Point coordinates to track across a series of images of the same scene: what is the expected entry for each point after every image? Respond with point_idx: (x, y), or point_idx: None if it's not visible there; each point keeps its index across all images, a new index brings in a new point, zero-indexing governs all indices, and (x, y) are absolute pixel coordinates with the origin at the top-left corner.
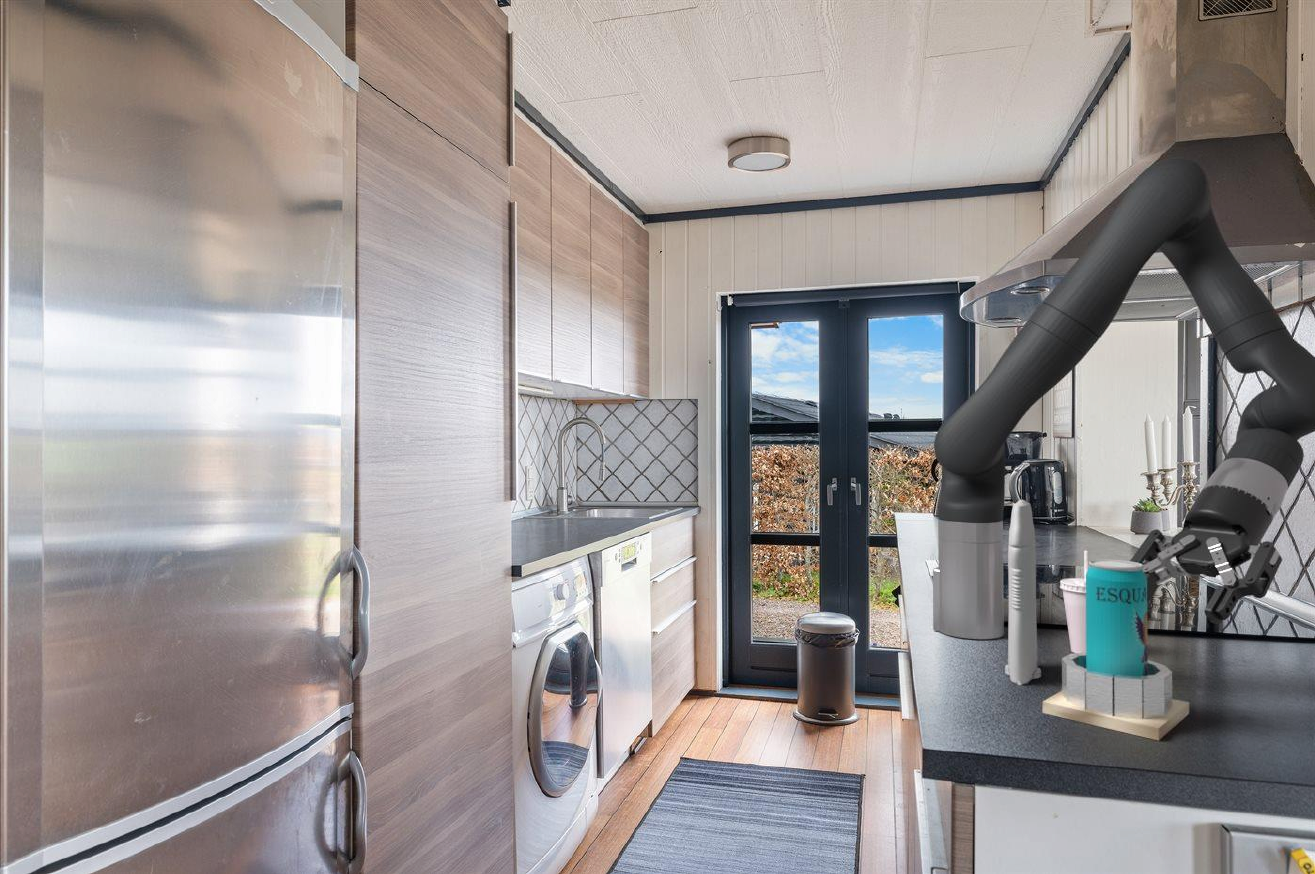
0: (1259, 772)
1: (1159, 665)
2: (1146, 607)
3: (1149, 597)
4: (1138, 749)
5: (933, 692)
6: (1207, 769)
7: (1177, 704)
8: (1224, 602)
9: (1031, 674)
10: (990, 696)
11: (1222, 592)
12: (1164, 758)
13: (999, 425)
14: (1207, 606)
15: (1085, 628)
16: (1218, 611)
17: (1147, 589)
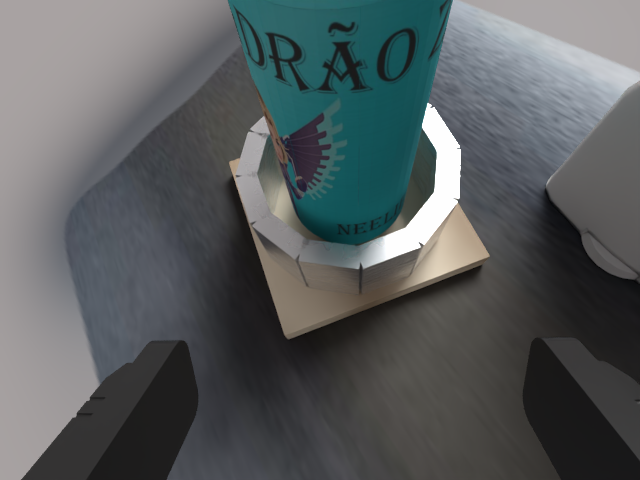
0: (103, 193)
1: (300, 248)
2: (251, 72)
3: (557, 458)
4: (230, 126)
5: (538, 42)
6: (147, 146)
7: (287, 300)
8: (91, 410)
9: (577, 218)
10: (495, 100)
11: (74, 440)
12: (195, 130)
13: None
14: (165, 351)
15: None
16: (129, 365)
17: (581, 445)
